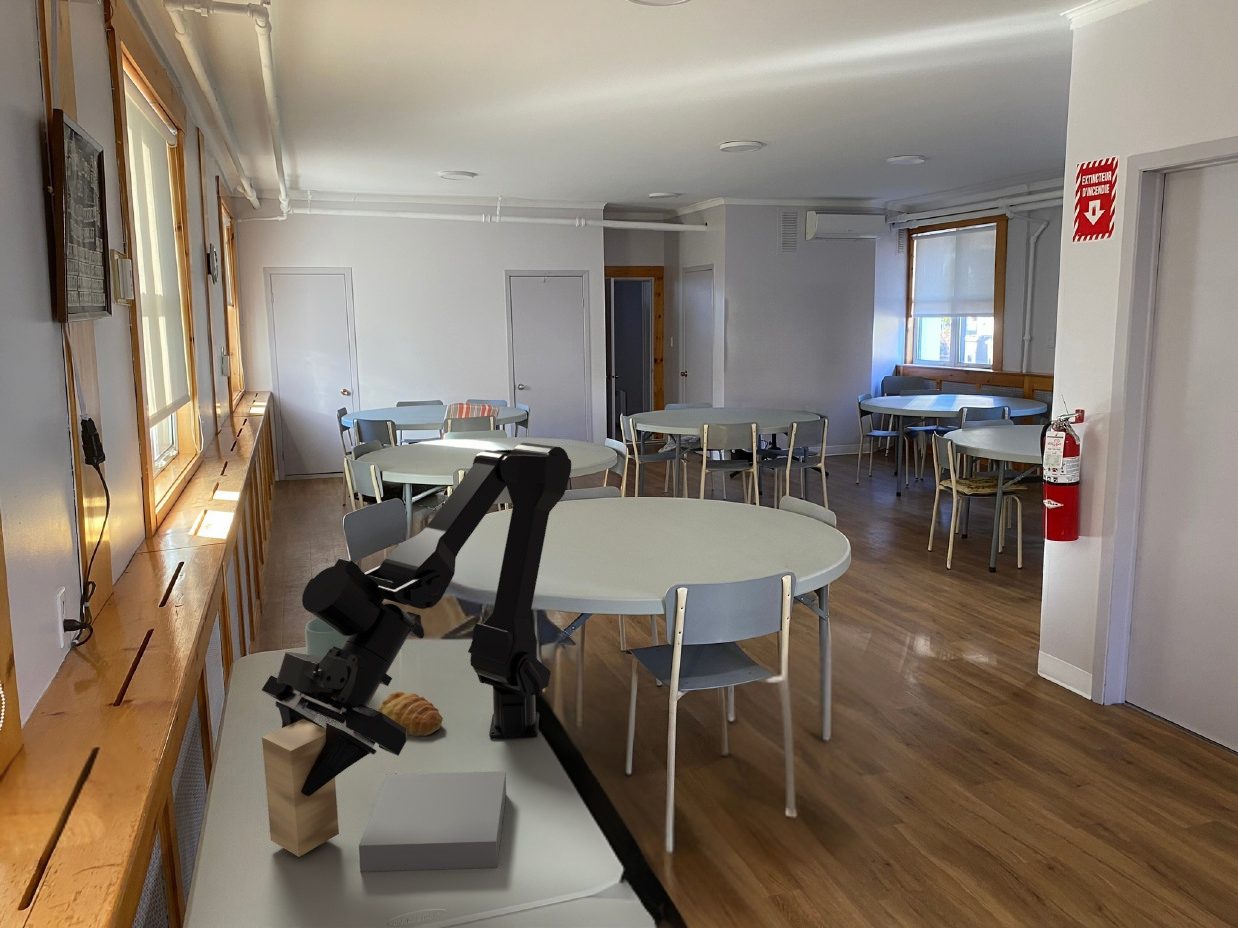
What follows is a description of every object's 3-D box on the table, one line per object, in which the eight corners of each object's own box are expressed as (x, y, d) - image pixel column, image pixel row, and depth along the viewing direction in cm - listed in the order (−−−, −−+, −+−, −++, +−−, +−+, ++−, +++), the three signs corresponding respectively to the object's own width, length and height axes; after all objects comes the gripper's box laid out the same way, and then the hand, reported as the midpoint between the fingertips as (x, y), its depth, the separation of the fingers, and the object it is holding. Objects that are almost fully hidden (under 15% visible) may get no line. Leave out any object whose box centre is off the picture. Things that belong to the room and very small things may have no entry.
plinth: (387, 797, 107) (386, 774, 107) (506, 794, 108) (505, 771, 107) (360, 871, 94) (358, 845, 93) (496, 867, 94) (496, 841, 94)
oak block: (310, 818, 101) (303, 718, 99) (338, 833, 98) (331, 731, 96) (270, 840, 97) (262, 736, 95) (298, 856, 95) (290, 750, 92)
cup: (308, 679, 140) (303, 617, 138) (360, 671, 143) (356, 611, 141) (310, 699, 133) (305, 635, 131) (364, 691, 136) (361, 628, 134)
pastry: (455, 725, 126) (454, 699, 125) (419, 745, 120) (417, 718, 120) (407, 708, 131) (406, 683, 130) (371, 726, 125) (369, 701, 125)
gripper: (270, 603, 102) (184, 732, 95) (379, 640, 91) (291, 788, 85) (333, 647, 110) (258, 769, 103) (440, 686, 99) (364, 825, 92)
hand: (289, 786), depth 96 cm, fingers closed on oak block, 5 cm apart
